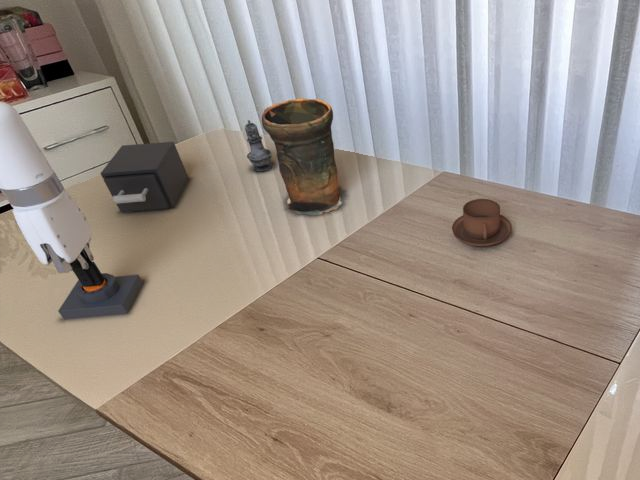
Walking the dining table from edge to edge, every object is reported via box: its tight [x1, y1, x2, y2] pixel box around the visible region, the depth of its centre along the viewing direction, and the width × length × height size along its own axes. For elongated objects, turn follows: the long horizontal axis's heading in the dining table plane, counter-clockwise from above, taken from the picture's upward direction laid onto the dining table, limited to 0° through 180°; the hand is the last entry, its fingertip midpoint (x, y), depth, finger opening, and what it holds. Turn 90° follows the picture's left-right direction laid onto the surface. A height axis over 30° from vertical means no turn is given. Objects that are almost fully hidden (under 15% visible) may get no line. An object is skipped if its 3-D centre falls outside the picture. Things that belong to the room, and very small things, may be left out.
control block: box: [57, 272, 144, 320], centre depth 99 cm, size 11×9×4 cm
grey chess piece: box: [244, 119, 275, 173], centre depth 132 cm, size 6×6×12 cm
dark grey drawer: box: [103, 173, 170, 213], centre depth 122 cm, size 17×10×8 cm, turn 6°
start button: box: [83, 280, 107, 292], centre depth 98 cm, size 4×4×2 cm
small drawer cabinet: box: [100, 141, 190, 213], centre depth 125 cm, size 14×12×10 cm
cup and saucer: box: [451, 198, 512, 247], centre depth 110 cm, size 12×12×6 cm
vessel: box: [261, 97, 343, 217], centre depth 117 cm, size 14×14×20 cm
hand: (94, 283), depth 97 cm, fingers closed
